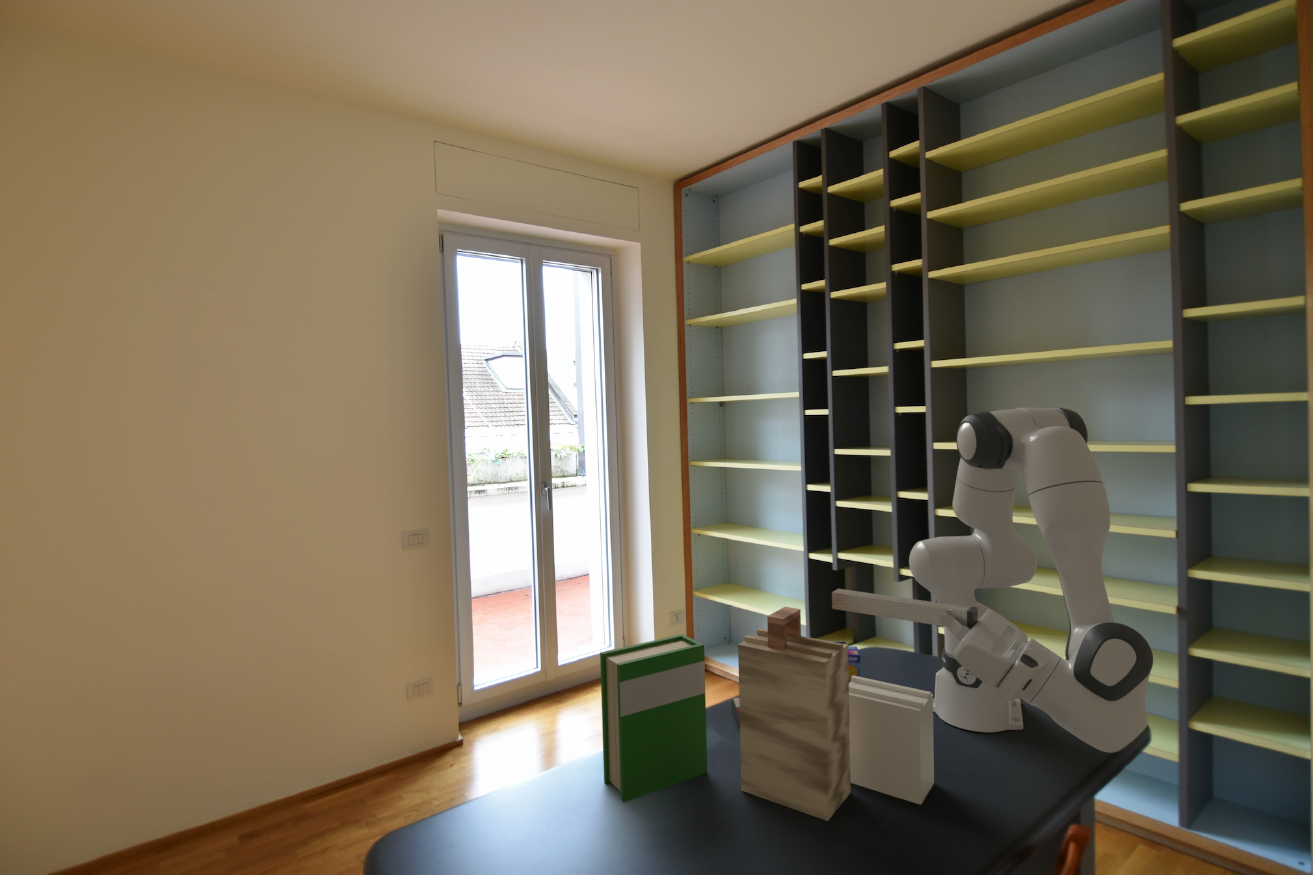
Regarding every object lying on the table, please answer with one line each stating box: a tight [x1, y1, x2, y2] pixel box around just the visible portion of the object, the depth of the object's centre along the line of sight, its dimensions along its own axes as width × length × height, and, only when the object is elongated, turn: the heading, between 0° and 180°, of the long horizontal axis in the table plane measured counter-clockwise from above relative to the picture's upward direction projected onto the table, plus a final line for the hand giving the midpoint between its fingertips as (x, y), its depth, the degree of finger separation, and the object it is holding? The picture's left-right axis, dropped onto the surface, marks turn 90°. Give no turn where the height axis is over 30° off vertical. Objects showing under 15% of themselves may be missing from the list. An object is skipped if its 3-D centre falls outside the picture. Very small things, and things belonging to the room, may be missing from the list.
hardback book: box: [599, 633, 708, 803], centre depth 125 cm, size 18×7×24 cm, turn 121°
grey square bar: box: [831, 588, 978, 629], centre depth 119 cm, size 3×24×3 cm, turn 53°
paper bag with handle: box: [737, 606, 852, 822], centre depth 119 cm, size 10×16×31 cm, turn 53°
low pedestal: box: [849, 676, 935, 806], centre depth 121 cm, size 8×14×17 cm, turn 53°
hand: (945, 612), depth 114 cm, fingers closed on grey square bar, 3 cm apart
